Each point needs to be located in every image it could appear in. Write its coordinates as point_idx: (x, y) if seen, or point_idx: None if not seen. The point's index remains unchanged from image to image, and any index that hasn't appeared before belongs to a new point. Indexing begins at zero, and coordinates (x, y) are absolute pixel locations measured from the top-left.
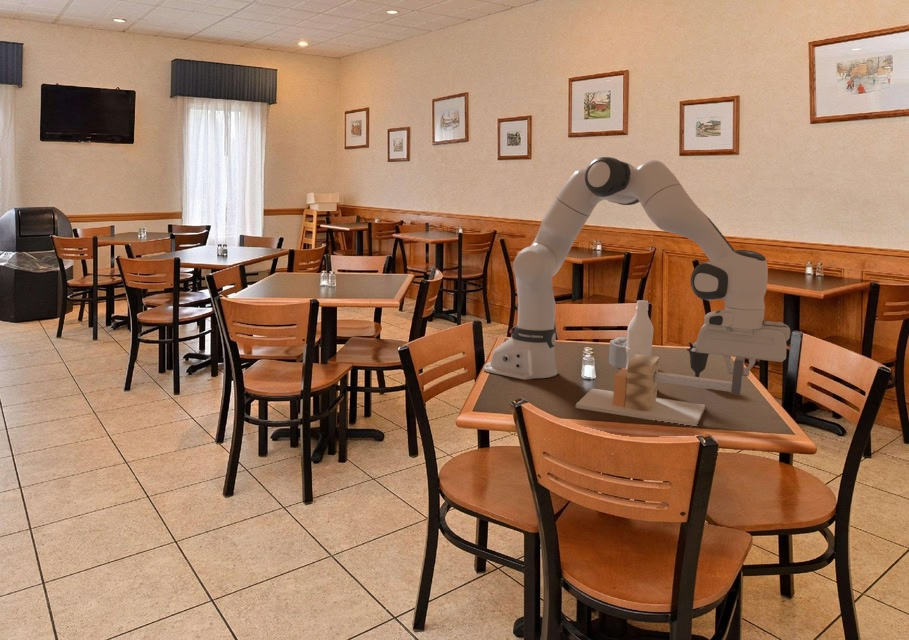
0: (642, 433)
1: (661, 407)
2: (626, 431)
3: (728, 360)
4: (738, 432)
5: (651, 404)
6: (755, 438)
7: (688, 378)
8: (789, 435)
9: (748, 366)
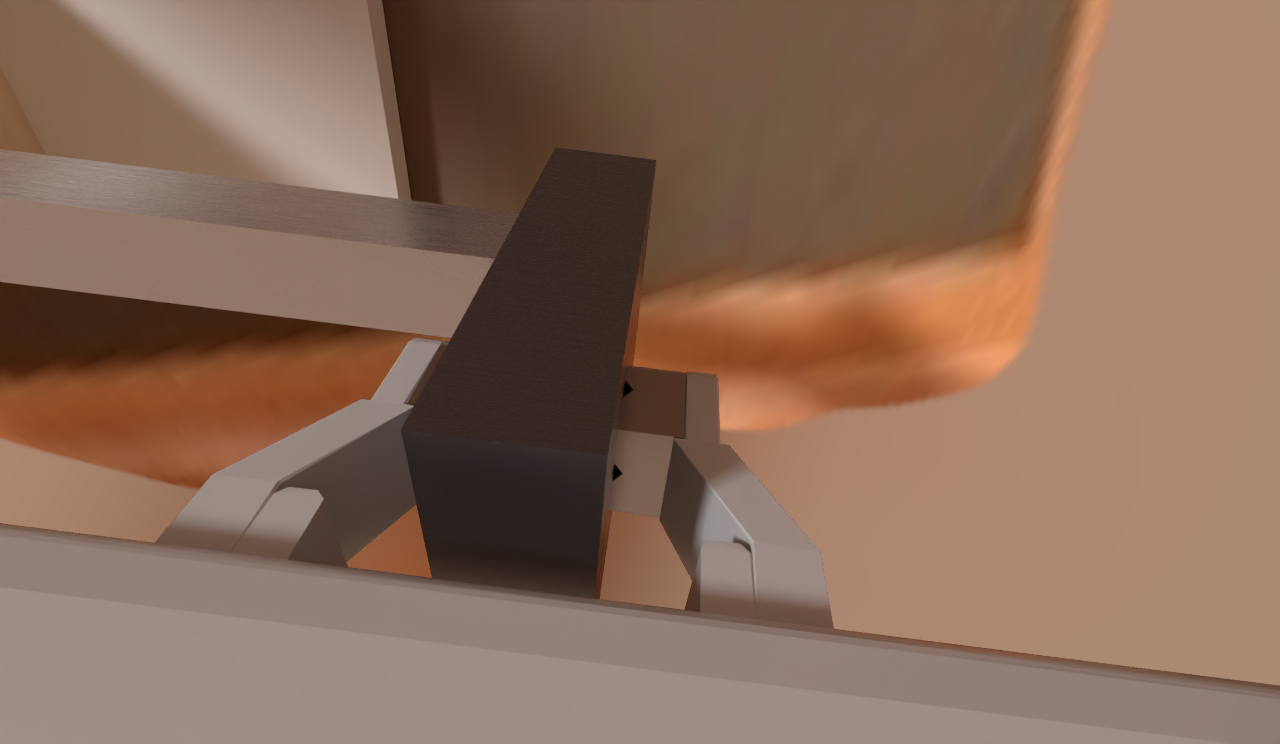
0: None
1: (74, 81)
2: (181, 459)
3: (324, 486)
4: (660, 323)
5: (9, 146)
6: (744, 381)
7: (51, 284)
8: (975, 276)
9: (683, 553)
